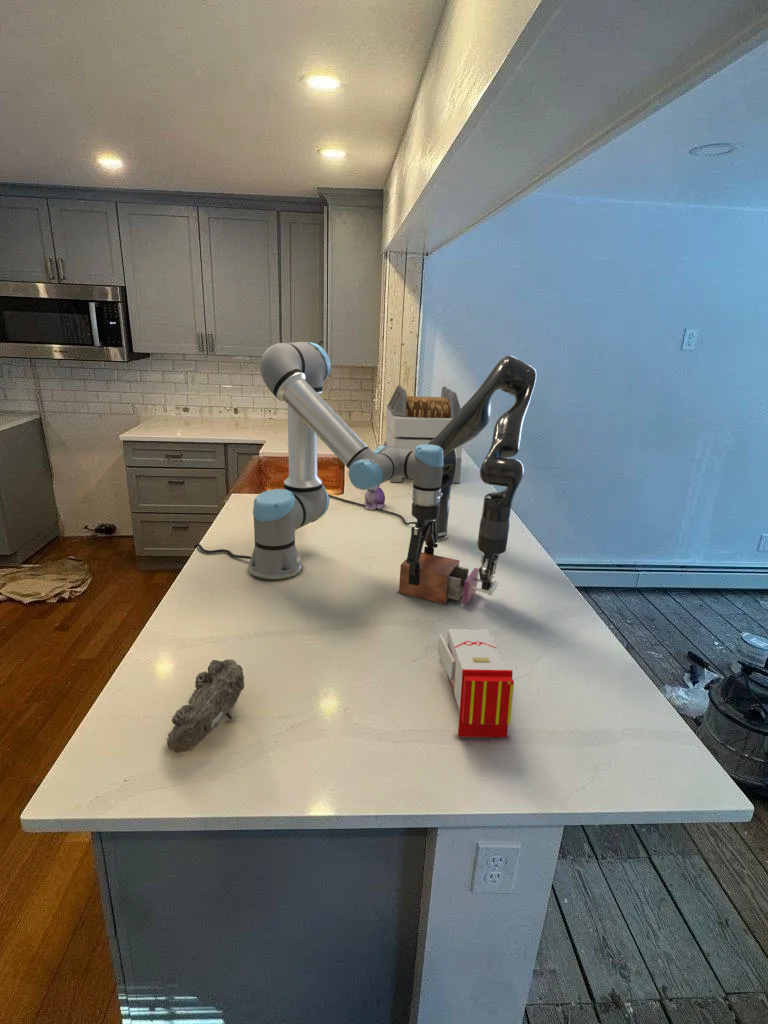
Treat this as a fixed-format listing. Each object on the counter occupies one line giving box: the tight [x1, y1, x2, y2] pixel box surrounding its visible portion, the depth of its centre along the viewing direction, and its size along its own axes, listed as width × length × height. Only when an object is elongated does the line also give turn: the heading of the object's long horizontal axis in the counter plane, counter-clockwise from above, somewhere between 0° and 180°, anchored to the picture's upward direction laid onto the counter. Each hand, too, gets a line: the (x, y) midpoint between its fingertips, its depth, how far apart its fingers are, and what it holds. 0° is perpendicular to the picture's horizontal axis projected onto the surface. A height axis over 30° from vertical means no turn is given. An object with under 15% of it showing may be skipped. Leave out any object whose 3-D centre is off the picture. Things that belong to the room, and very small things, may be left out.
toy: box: [437, 628, 515, 738], centre depth 117 cm, size 12×13×30 cm
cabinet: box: [398, 551, 460, 605], centre depth 159 cm, size 14×11×9 cm
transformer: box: [383, 384, 463, 484], centre depth 268 cm, size 34×33×41 cm
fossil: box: [166, 658, 245, 754], centre depth 106 cm, size 22×10×15 cm
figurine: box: [363, 484, 386, 511], centre depth 223 cm, size 9×10×15 cm
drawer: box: [447, 565, 499, 606], centre depth 156 cm, size 18×10×7 cm, turn 66°
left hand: (420, 575), depth 160 cm, fingers closed on cabinet, 11 cm apart
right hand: (485, 591), depth 153 cm, fingers closed
